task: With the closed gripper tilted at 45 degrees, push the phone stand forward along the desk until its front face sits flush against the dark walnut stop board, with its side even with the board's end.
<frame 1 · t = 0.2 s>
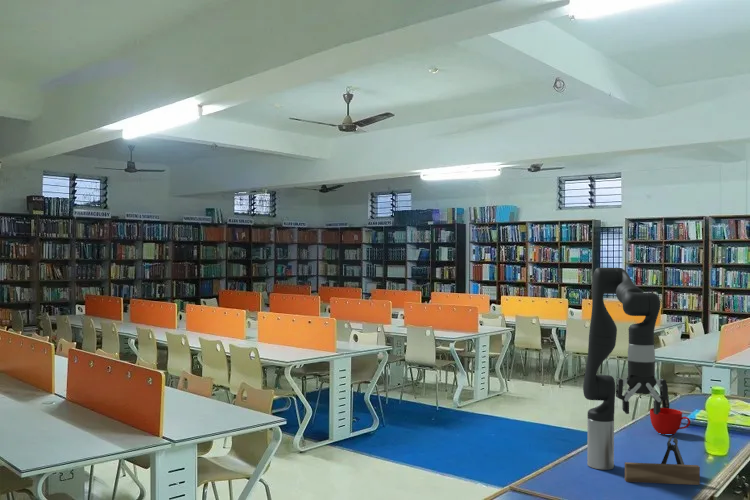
hand: (641, 413, 193), 29 cm above the table, tool pointing down, fingers open, 8 cm apart
stop board: (661, 482, 220), on the table
statue: (668, 421, 307), on the table
ceramic cup: (670, 435, 283), on the table
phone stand: (672, 473, 230), on the table
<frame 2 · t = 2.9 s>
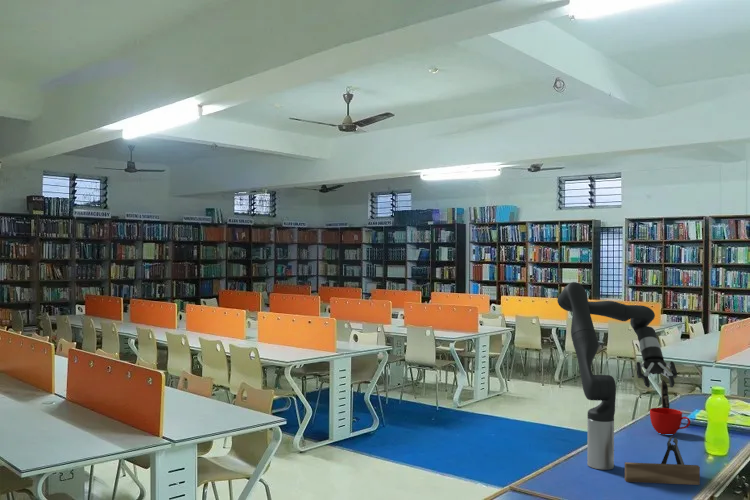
hand: (660, 386, 246), 28 cm above the table, tool tilted 40°, fingers open, 8 cm apart
nothing on the table moved.
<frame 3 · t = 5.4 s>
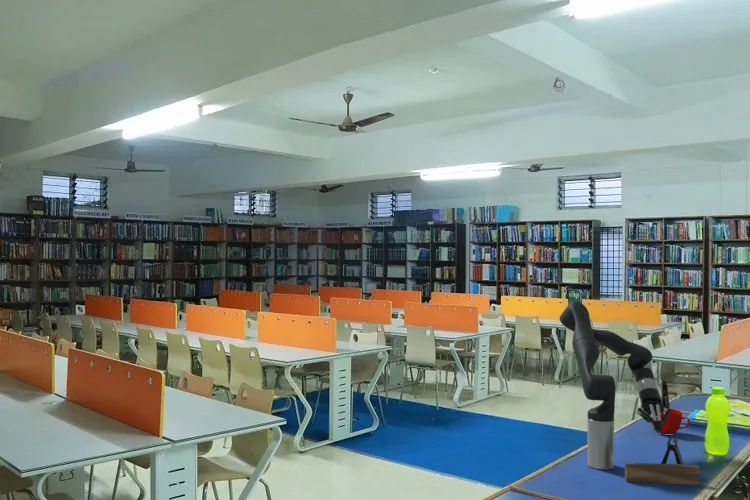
hand: (659, 431, 244), 11 cm above the table, tool tilted 45°, fingers closed
nothing on the table moved.
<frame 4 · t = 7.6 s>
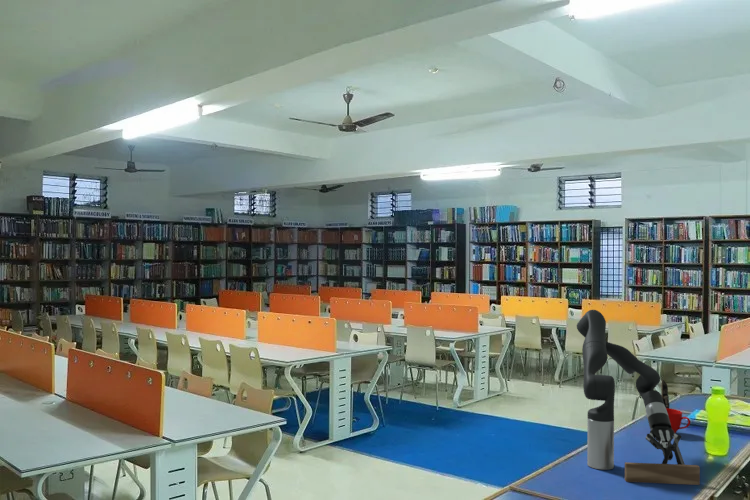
hand: (669, 459, 234), 4 cm above the table, tool tilted 45°, fingers closed
nothing on the table moved.
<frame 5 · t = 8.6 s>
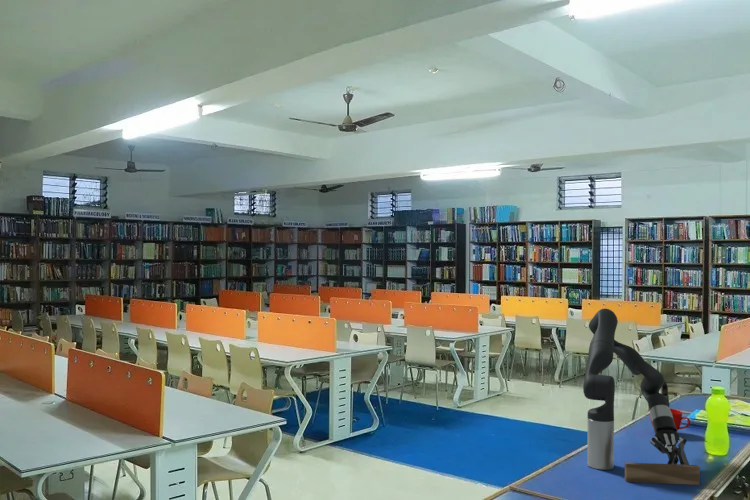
hand: (674, 463, 228), 4 cm above the table, tool tilted 45°, fingers closed
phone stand: (677, 478, 225), on the table, touching gripper, stop board
everything else where it was.
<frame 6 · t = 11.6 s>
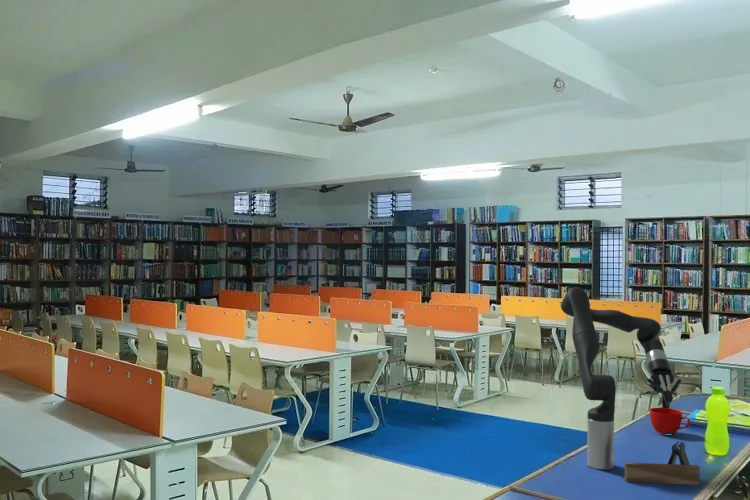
hand: (669, 401, 239), 24 cm above the table, tool tilted 45°, fingers closed
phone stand: (678, 478, 225), on the table
everything else where it was.
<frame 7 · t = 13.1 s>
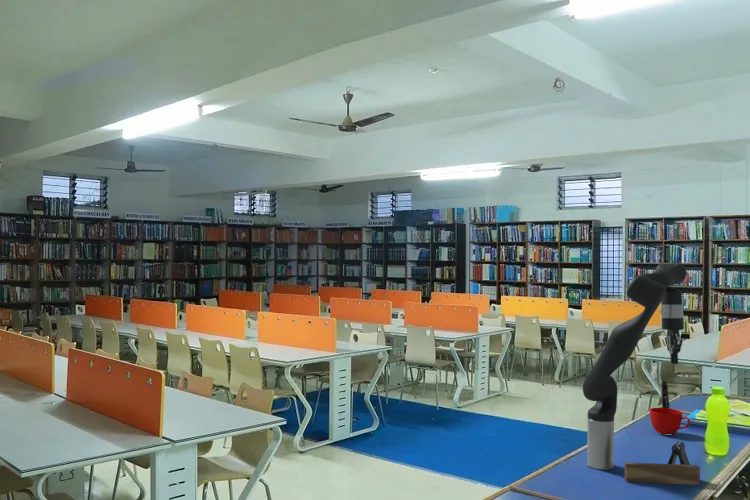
hand: (674, 363, 240), 37 cm above the table, tool pointing down, fingers closed
nothing on the table moved.
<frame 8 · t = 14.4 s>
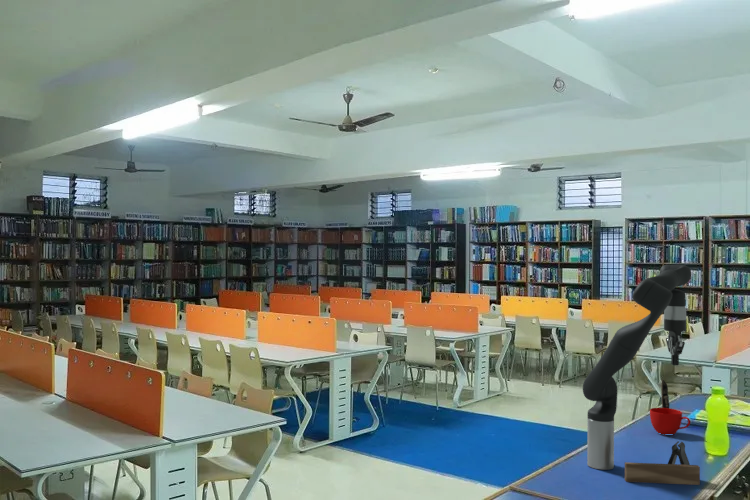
hand: (674, 364, 240), 37 cm above the table, tool pointing down, fingers closed
nothing on the table moved.
at the end: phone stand 0.7 cm from the target spot on the table beside the stop board, on the table; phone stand tilted 0° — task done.
